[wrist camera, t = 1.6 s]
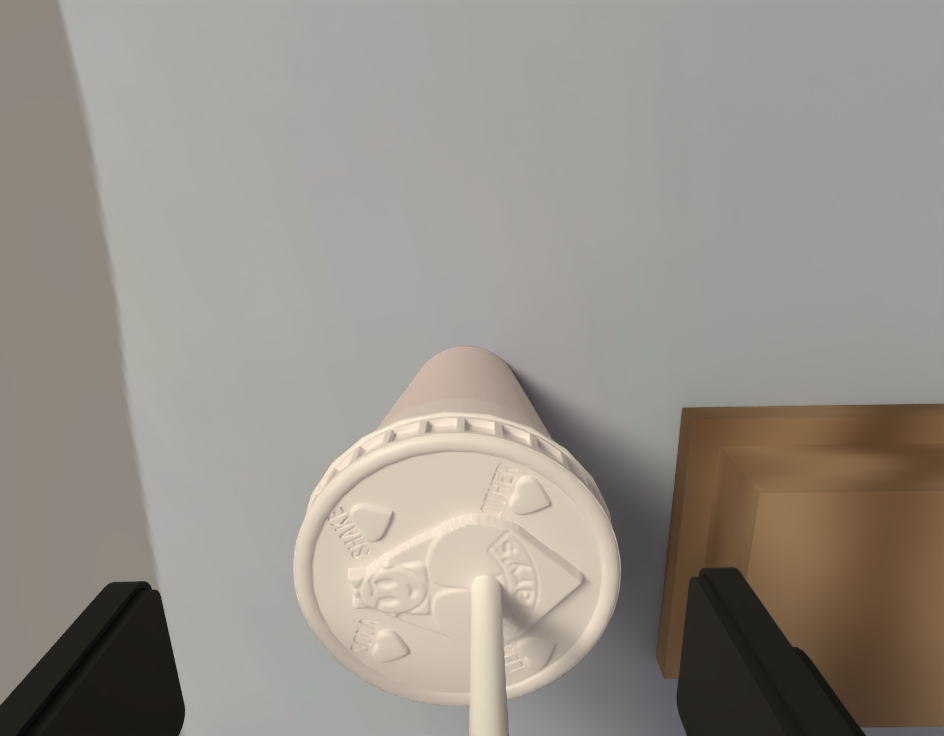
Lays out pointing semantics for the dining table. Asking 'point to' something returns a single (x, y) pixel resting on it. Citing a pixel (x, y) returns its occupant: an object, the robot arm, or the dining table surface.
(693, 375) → the dining table surface
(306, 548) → the smoothie
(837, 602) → the pedestal
